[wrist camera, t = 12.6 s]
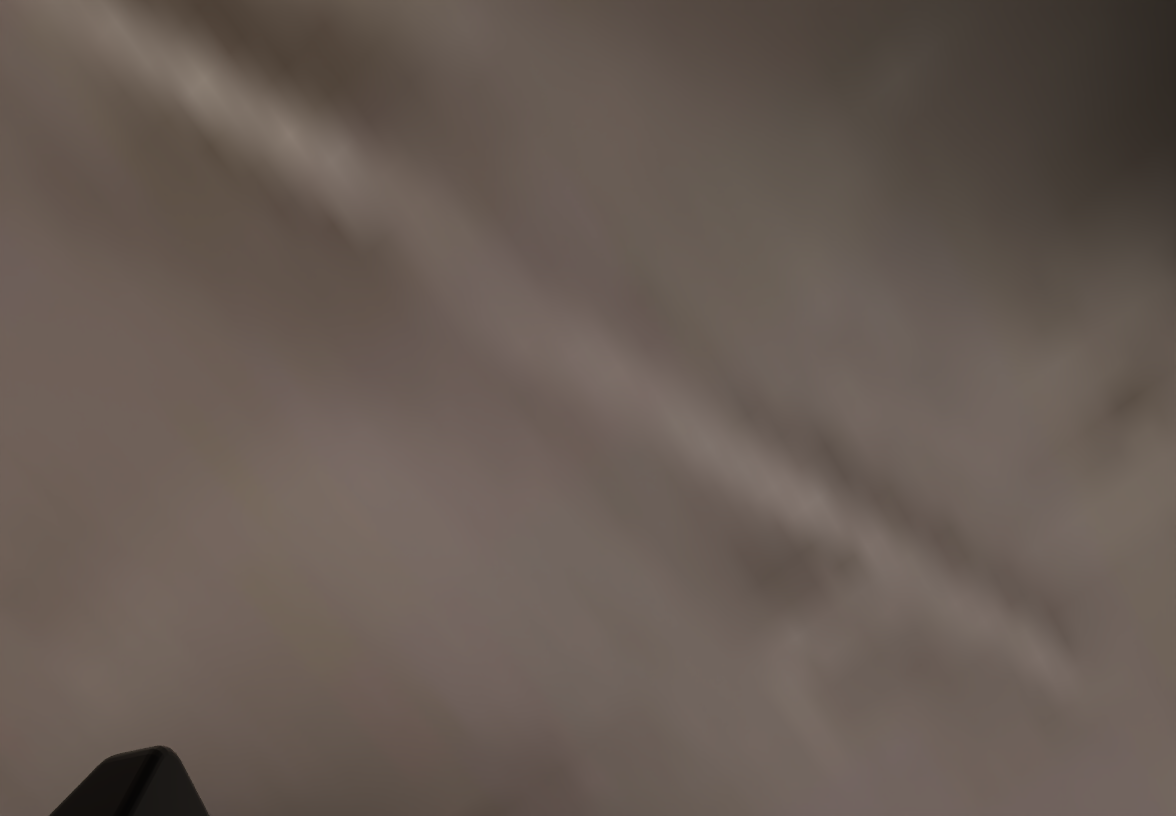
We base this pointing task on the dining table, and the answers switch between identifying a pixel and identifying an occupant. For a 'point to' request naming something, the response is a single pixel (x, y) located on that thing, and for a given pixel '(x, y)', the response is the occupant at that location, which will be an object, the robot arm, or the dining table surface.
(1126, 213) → the dining table surface
